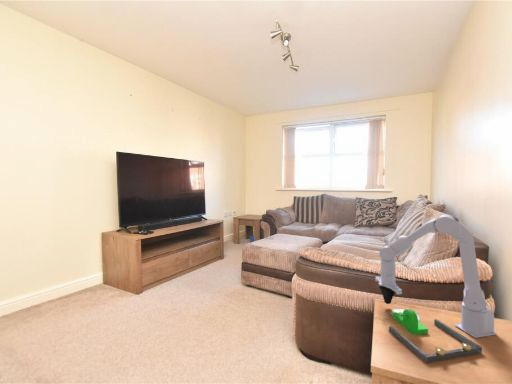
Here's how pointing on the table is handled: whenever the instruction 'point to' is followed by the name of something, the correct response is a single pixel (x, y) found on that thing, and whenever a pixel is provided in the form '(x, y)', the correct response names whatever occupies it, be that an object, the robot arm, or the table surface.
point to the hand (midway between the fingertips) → (387, 303)
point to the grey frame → (440, 354)
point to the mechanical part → (410, 322)
